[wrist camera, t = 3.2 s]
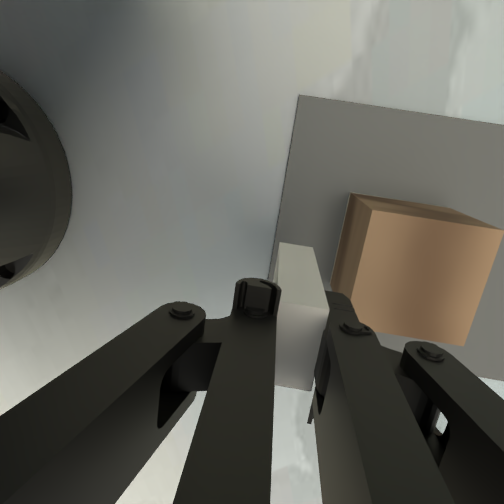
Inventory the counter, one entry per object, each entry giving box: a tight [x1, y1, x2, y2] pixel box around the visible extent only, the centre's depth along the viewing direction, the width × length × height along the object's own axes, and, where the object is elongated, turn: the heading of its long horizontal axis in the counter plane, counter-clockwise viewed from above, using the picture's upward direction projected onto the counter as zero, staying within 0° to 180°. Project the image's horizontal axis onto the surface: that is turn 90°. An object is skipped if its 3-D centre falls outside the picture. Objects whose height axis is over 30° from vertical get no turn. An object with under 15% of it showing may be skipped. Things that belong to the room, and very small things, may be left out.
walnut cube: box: [330, 192, 504, 346], centre depth 21 cm, size 6×6×6 cm
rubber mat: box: [268, 95, 504, 381], centre depth 24 cm, size 24×16×1 cm, turn 82°
